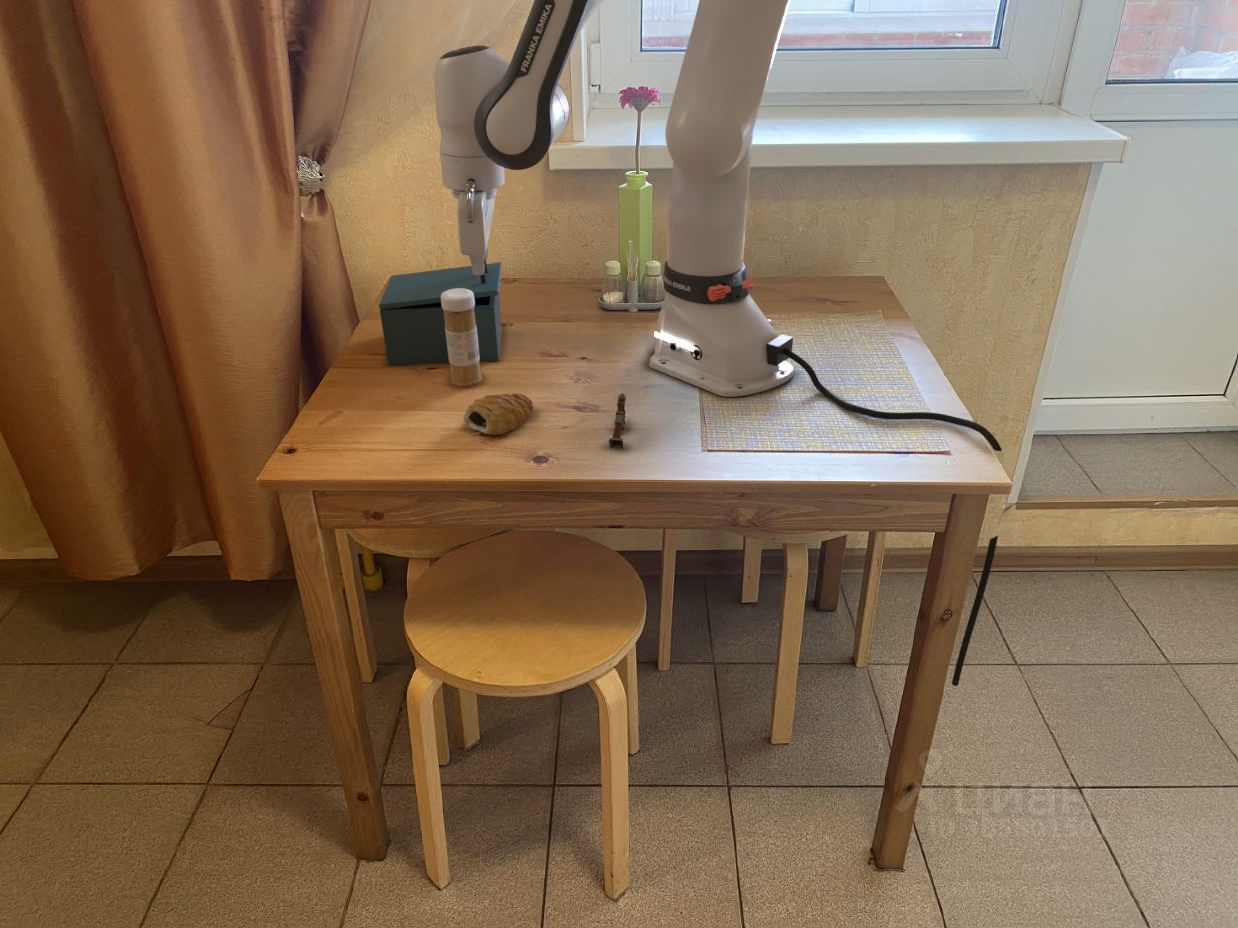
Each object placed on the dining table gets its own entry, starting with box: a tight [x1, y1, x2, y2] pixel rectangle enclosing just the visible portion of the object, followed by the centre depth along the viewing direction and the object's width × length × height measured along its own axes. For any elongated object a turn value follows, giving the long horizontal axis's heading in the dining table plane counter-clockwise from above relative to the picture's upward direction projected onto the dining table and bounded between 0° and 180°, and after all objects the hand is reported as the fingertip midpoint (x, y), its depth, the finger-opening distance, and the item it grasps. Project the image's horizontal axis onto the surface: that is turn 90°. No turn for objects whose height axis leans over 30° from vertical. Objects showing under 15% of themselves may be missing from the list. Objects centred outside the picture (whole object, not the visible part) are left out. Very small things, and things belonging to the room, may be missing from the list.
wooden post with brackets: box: [608, 392, 627, 450], centre depth 114 cm, size 2×8×4 cm, turn 173°
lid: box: [378, 248, 503, 311], centre depth 133 cm, size 17×13×5 cm
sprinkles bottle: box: [441, 288, 483, 387], centre depth 125 cm, size 5×5×13 cm
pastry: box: [463, 392, 534, 436], centre depth 117 cm, size 9×7×4 cm
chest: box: [379, 292, 503, 366], centre depth 137 cm, size 17×13×9 cm
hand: (480, 266), depth 133 cm, fingers closed on lid, 5 cm apart
